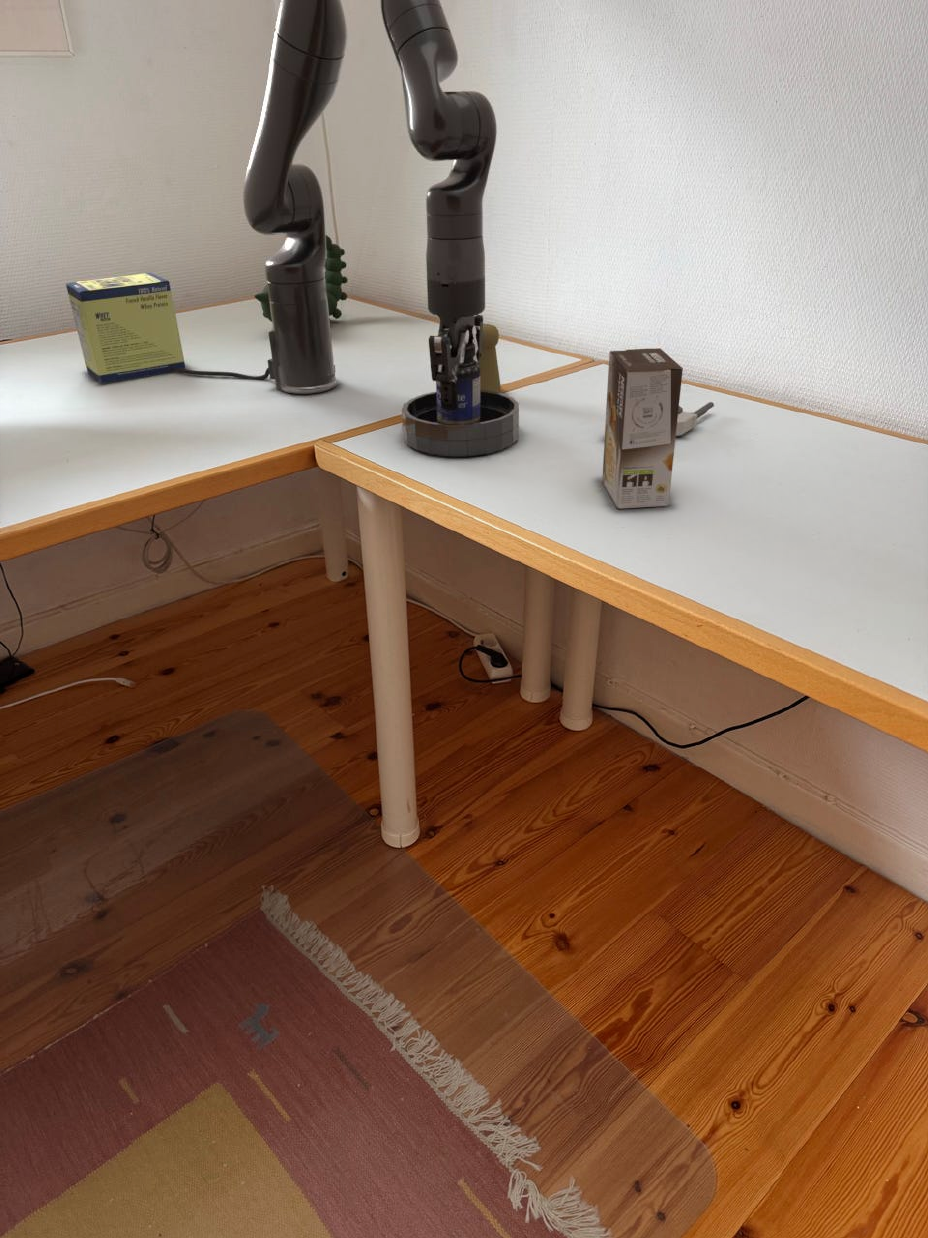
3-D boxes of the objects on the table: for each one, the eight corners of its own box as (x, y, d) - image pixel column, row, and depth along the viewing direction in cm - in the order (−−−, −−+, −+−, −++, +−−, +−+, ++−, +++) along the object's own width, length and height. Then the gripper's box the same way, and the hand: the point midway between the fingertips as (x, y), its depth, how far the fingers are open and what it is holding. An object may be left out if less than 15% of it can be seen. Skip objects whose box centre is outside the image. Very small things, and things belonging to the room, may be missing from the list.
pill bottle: (430, 428, 119) (427, 348, 113) (446, 414, 124) (444, 337, 118) (472, 433, 117) (471, 351, 111) (486, 419, 122) (486, 340, 116)
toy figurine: (326, 323, 192) (242, 337, 173) (322, 231, 183) (233, 235, 165) (358, 328, 187) (275, 342, 169) (355, 234, 179) (267, 238, 160)
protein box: (187, 369, 156) (170, 279, 148) (100, 385, 149) (77, 291, 141) (169, 357, 163) (152, 271, 155) (85, 372, 156) (62, 282, 148)
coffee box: (670, 506, 99) (685, 367, 91) (616, 510, 99) (626, 370, 90) (649, 477, 107) (661, 346, 99) (599, 479, 107) (607, 349, 98)
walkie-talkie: (657, 455, 113) (717, 414, 127) (660, 423, 111) (721, 385, 124) (599, 443, 118) (663, 404, 131) (600, 411, 116) (666, 376, 129)
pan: (385, 451, 117) (382, 418, 115) (431, 415, 130) (429, 385, 128) (496, 464, 112) (496, 430, 110) (533, 425, 125) (533, 394, 122)
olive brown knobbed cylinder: (498, 401, 135) (498, 329, 129) (461, 399, 136) (459, 328, 130) (504, 389, 140) (504, 320, 134) (468, 388, 141) (466, 319, 135)
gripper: (449, 262, 116) (452, 384, 125) (406, 282, 105) (412, 415, 114) (501, 265, 114) (501, 389, 123) (462, 286, 103) (465, 421, 112)
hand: (458, 401), depth 118 cm, fingers closed on pill bottle, 6 cm apart
